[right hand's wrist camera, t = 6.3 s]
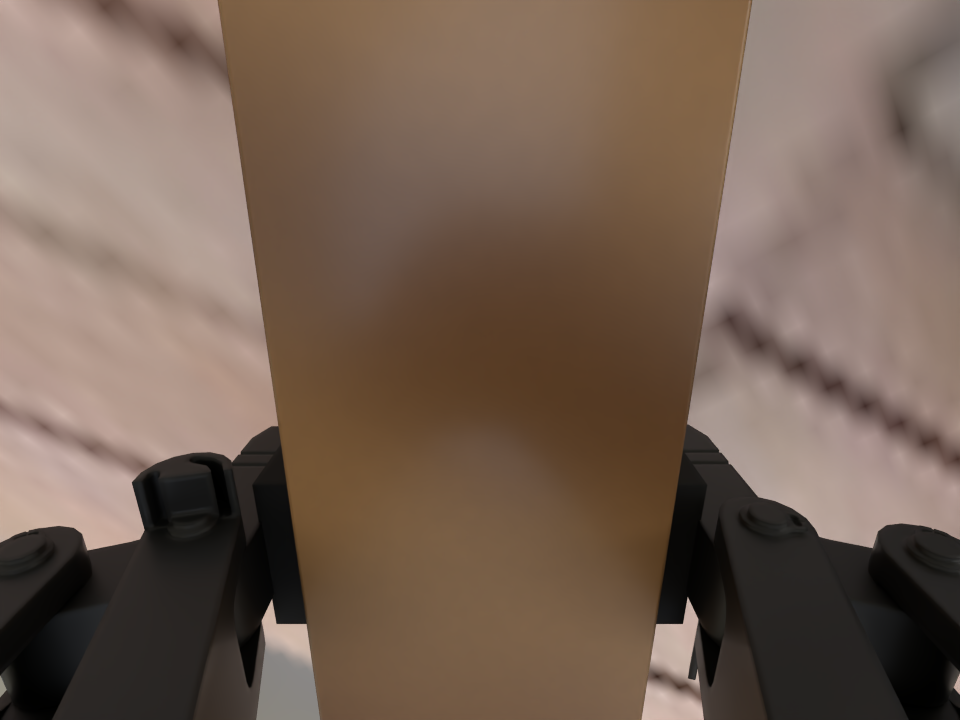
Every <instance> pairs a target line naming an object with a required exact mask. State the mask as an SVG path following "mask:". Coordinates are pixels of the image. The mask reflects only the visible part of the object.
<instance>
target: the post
mask: <svg viewBox="0 0 960 720" xmlns="http://www.w3.org/2000/svg"><path fill="white" fill-rule="evenodd" d="M218 5H219V12H220V19H221V26H222V33H223V40H224V47H225V54H226V61H227V68H228V75H229V83H230V90H231V97H232V104H233V111H234V118H235V125H236V132H237V139H238V146H239V153H240V160H241V167H242V174H243V181H244V188H245V195H246V202H247V209H248V216H249V223H250V230H251V237H252V244H253V251H254V258H255V265H256V272H257V279H258V286H259V293H260V300H261V307H262V314H263V321H264V328H265V335H266V342H267V349H268V356H269V363H270V370H271V377H272V384H273V391H274V398H275V405H276V412H277V419H278V426H279V433H280V440H281V447H282V454H283V461H284V468H285V475H286V482H287V489H288V496H289V503H290V510H291V517H292V524H293V531H294V538H295V545H296V552H297V559H298V566H299V574H300V581H301V588H302V595H303V602H304V609H305V616H306V623H307V630H308V637H309V644H310V651H311V658H312V665H313V672H314V679H315V686H316V693H317V699H318V707H319V714H320V720H641V719H642V712H643V706H644V699H645V693H646V686H647V680H648V673H649V667H650V660H651V654H652V647H653V641H654V634H655V628H656V621H657V615H658V608H659V602H660V595H661V589H662V582H663V576H664V569H665V563H666V556H667V550H668V543H669V537H670V530H671V524H672V517H673V511H674V504H675V498H676V491H677V485H678V478H679V472H680V465H681V459H682V453H683V446H684V440H685V433H686V427H687V420H688V414H689V407H690V401H691V394H692V388H693V381H694V375H695V368H696V362H697V355H698V349H699V342H700V336H701V329H702V323H703V316H704V310H705V303H706V297H707V290H708V284H709V277H710V271H711V264H712V258H713V251H714V245H715V238H716V232H717V225H718V219H719V212H720V206H721V199H722V193H723V187H724V180H725V174H726V167H727V161H728V154H729V148H730V141H731V135H732V128H733V122H734V115H735V109H736V102H737V96H738V89H739V83H740V76H741V70H742V63H743V57H744V50H745V44H746V37H747V31H748V24H749V18H750V11H751V5H752V0H218Z"/></svg>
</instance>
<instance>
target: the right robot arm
mask: <svg viewBox="0 0 960 720" xmlns="http://www.w3.org/2000/svg"><path fill="white" fill-rule="evenodd" d="M132 485H133V488H134V492H135V496H136V500H137V503H138V507H139V511H140V514H141V518H142V522H143V526H144V529H145V531H144V533H143V535H142V537H141V539H140V540H136V541H133V542H128V543H123V544H118V545H113V546H108V547H103V548H98V549H93V550H88V551H87V548H86V545H85V542H84V539H83V536H82V534H81V533H80V532H79V531H77V530H76V529H74V528H70V527H62V526H56V527H48V528H38V529H34V530H29V532H23V533H20V534H17V535H14V536H13V537H11V538H10V539H7V540H5V541H3V542H1V543H0V675H1V678H2V680H3V682H4V685H5V687H6V689H7V690H6V691H5V693H4V694H3V695H2V696H1V697H0V720H256V716H257V708H258V700H259V692H260V684H261V675H262V667H263V659H264V651H265V637H264V631H263V626H262V619H263V617H264V614H265V612H266V610H267V608H268V606H269V604H270V602H271V600H273V606H274V611H275V617H276V623H277V624H307V623H306V616H305V609H304V602H303V595H302V588H301V581H300V574H299V566H298V559H297V552H296V545H295V538H294V531H293V524H292V517H291V510H290V503H289V496H288V489H287V482H286V475H285V468H284V461H283V454H282V447H281V440H280V433H279V426H271V427H270V428H268V429H266V430H265V431H263V432H261V433H260V434H258V435H257V436H255V437H253V438H252V439H251V440H250V441H249V443H248V444H247V445H246V446H245V447H244V449H243V450H242V451H241V455H238V456H237V457H236V458H235V460H234V461H233V462H231V460H229V459H228V458H227V457H225V456H224V455H221V454H216V453H211V452H207V453H191V454H186V455H181V456H176V457H173V458H170V459H167V460H165V461H162V462H159V463H157V464H155V465H153V466H152V467H150V468H148V469H146V470H145V471H143V472H141V473H140V474H139V475H138V477H137V478H136V479H135V480H134V481H133V482H132ZM687 597H688V598H689V600H690V602H691V604H692V606H693V609H694V611H695V613H696V615H697V617H698V619H699V620H698V626H697V631H696V636H695V641H694V647H693V652H692V657H691V663H690V668H689V675H688V678H689V679H693V680H695V679H696V674H697V669H698V674H699V682H700V691H701V699H702V707H703V715H704V720H960V695H959V693H958V692H957V691H956V690H955V689H954V685H955V683H956V681H957V678H958V676H959V674H960V540H959V539H957V538H954V537H952V536H950V535H949V534H947V533H945V532H942V531H939V530H936V529H934V530H933V529H932V528H929V527H925V526H917V525H909V524H894V525H886V526H885V527H884V528H882V529H881V530H880V531H878V534H877V537H876V540H875V543H874V546H873V548H869V547H863V546H858V545H853V544H848V543H843V542H838V541H833V540H829V539H825V538H821V537H819V536H818V534H817V532H816V530H815V528H814V527H813V526H812V525H811V523H810V522H809V521H808V520H807V519H806V518H805V517H804V516H802V515H801V514H799V513H798V512H796V511H795V510H793V509H792V508H789V507H787V506H785V505H783V504H780V503H778V502H776V501H772V500H768V499H763V498H759V497H758V496H757V495H756V494H755V493H754V492H753V490H752V489H751V488H750V487H749V486H748V484H747V483H746V482H745V481H744V480H743V478H742V477H741V476H740V475H739V474H738V472H737V471H736V470H735V469H734V468H733V466H732V465H731V464H728V460H727V459H726V458H725V457H724V456H723V454H722V453H719V449H718V448H717V447H716V446H715V445H714V443H713V442H712V441H711V440H710V439H709V437H708V436H706V435H705V434H703V433H701V432H700V431H698V430H696V429H695V428H693V427H691V426H690V425H687V427H686V433H685V440H684V446H683V453H682V459H681V465H680V472H679V478H678V485H677V491H676V498H675V504H674V511H673V517H672V524H671V530H670V537H669V543H668V550H667V556H666V563H665V569H664V576H663V582H662V589H661V595H660V602H659V608H658V615H657V621H656V624H683V620H684V614H685V609H686V603H687Z"/></svg>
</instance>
